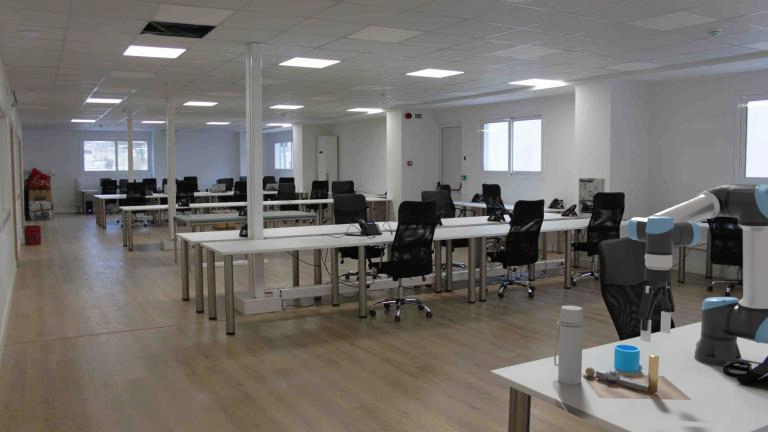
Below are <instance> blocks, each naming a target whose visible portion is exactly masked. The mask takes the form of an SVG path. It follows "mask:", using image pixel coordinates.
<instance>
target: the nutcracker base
mask: <svg viewBox="0 0 768 432" xmlns="http://www.w3.org/2000/svg"><path fill="white" fill-rule="evenodd" d="M581 377H582V378H584V381H586V383H587V384H588V385H589V387H590V388H592V390H593V392H595V394H596V395H597V397H599V398H601V399H641V400H642V399H647V400H683V401H684V400H688V401H690V400H691V397H689V396H688V395H687V394H685V392H683V391H682V390H681V389H680V388H679V387H677V386H676V385H675V384H674V383H673V382H671V380H669V379H668V378H667V377H666V376H665V375H658V389H657V393H649V392H646V391H642V390H638V389H635V388H631V387H628V386H624V385H620V384H617V383H609V382H606V381H605V380H602V379H598V378H596V370H595V369H594V367H592V366H589V367H587V368H585V374H582V373H581ZM620 377H622V378H626V379H629V380H633V381H637V382H641V383H644V384H648V375H636V374H635V375H630V374H628V375H626V374H620Z"/></svg>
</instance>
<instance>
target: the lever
mask: <svg viewBox="0 0 768 432" xmlns="http://www.w3.org/2000/svg"><path fill="white" fill-rule="evenodd" d="M659 361H660V356H659V355H657V354H649V355H648V365H647V366H648V367H647V368H648V369H647V370H648V371H647V372H648V373H647V376H648V384H644V383H641V382H637V381H633V380H629V379H626V378H622V377H620V375H621V373H619V372H617V370H614V369H610V370H609V371H606V370H603V369H598V370H595V375H596V378H598V379H602V380H605V381H606V382H609V383H617V384H620V385H624V386H628V387H631V388H635V389H638V390H642V391H646V392H649V393H657V389H658V376H659V365H660V363H659Z"/></svg>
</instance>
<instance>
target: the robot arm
mask: <svg viewBox="0 0 768 432" xmlns="http://www.w3.org/2000/svg"><path fill="white" fill-rule="evenodd" d="M717 217H725V218H726V217H727V218H728V217H729V218H735V219H736V218H737V225H738V226H739V227H740V228H741V229H742V267H743V268H742V273H743V274H742V283H743V284H742V292H743V294H742V298H741V299H739V298H737V297H732V296H713V297H707V298H705V299H704V300H703V301H702V305H701V306H702V308H701V322H700V323H701V325H700V326H701V328H700V338H699V341H698V343H697V345H696V348H695V350H694V359H695V360H697V361H698V362H701V363H705V364H707V365H712V366H719V367H725V366H724V365H725V364H726V362H727V361H733V360H741V361H742V354H741V351H740V348H739V345H738V338H740V339H743V340H748V341H752V342H755V343H758V344H760V343H761V344H765V345H768V184H764V183H757V184H755V183H754V184H753V183H727V184H726V183H725V184H722V185H719V186H716V187H711V188H710V189H706V190H704V191H701V192H700V193H697V194H696V195H695V198H692V199H689V200H687V201H685V202H682V203H680V204H679V203H678V204H676V205H674V206H671V207H669V208H667V209H664V210H662V211H660V212H657V213H654V214H652V215H650V216H646V217H641V216H638V217H632V218H631V219H629V221H627V224H626V234H627V236H628V238H629V239H631V240H634V241H638V242H645V254H644V256H643V257H644V265H645V268H644V276H643V277H644V280H645V281H646V282H647V281H648V282H649V283H648V285H643V290H642V296H641V300H640V302H639V303H640V304H639V306H638V307H639V308H638V312H637V315H636V316H637V317H636V318H637V319H638V320H640V341H643V342H648V343H650V342H651V339H652V337H651V336H652V335H651V334H652V319H651V317H652V314H653V311H654V309H655V305H657V304H656V303H657V302H659V304H660V306H661V308H662V311H661V312H660V314H661V315H660V333H665V334H669V335H671V322H672V313H675V311H676V310H675V307H676V306H675V300H674V296H673V290H672V274H673V273H672V272H673V270H672V269H671V268H673V249H674V248H676V247H677V248H678V247H689V246H692V245H695V244H696V245H697V243H698V242H699V241H700V240H701V237H702V231H701V228H700V226H699V224H697V223H696V222H699V221H701V220H703V219H709V220H710V219H714V218H717Z"/></svg>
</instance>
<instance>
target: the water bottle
mask: <svg viewBox="0 0 768 432" xmlns="http://www.w3.org/2000/svg"><path fill="white" fill-rule="evenodd" d="M583 315H584V313H583V308H582V307H581V306H576V305H562V306H560V313H559V320H557V322H556V323H557V325H558V328H557V333H556V334H557V335H556V342H555V350H554V357H553V358H554V359H553V360H554V361H553V362H554V363H553V364H554V366H555V367H558V369H557V370H558V373H557V380H558V381H559V382H561V383H562V384H566V385H577V384H578V385H579V384H580V383H581V382H582V375H581V374H582V368H583V367H582V361H583V334H584V332H583V331H584V330H583V329H584V326H583V324H584V316H583ZM557 349H558V363H557V358H556V357H557Z"/></svg>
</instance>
